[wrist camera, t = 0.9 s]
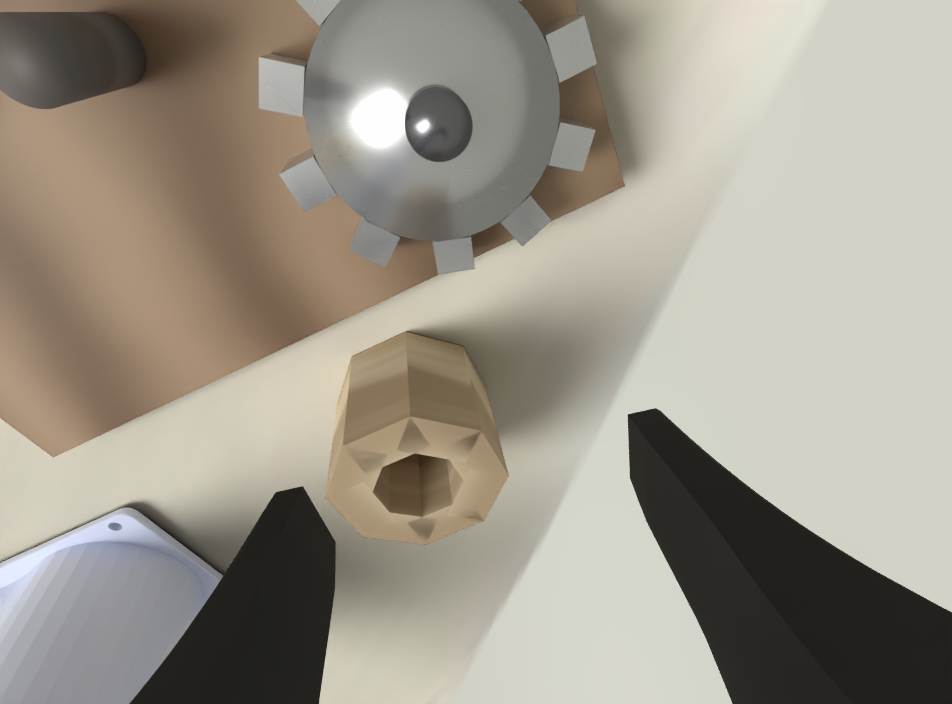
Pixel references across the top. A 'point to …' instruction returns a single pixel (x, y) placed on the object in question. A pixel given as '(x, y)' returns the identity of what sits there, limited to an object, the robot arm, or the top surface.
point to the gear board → (181, 206)
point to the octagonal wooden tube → (414, 442)
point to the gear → (430, 118)
